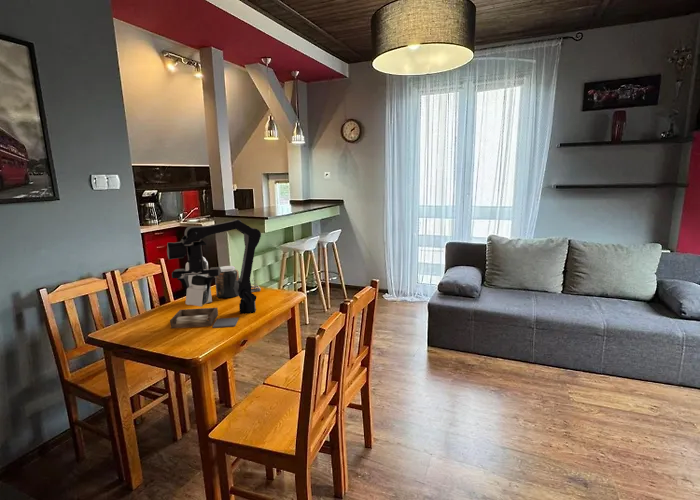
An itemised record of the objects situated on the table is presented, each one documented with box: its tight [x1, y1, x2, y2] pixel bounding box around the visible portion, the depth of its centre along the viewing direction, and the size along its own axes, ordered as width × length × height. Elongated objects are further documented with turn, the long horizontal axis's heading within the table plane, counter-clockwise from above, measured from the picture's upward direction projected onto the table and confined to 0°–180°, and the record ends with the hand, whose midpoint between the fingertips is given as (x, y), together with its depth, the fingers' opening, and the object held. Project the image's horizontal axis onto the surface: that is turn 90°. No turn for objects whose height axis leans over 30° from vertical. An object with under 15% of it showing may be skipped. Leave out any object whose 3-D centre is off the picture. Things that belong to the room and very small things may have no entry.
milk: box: [185, 256, 213, 306], centre depth 188 cm, size 12×12×26 cm
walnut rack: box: [169, 307, 219, 329], centre depth 160 cm, size 16×13×4 cm
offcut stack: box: [176, 315, 209, 324], centre depth 156 cm, size 12×2×4 cm, turn 101°
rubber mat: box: [212, 317, 239, 329], centre depth 158 cm, size 9×9×1 cm
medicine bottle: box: [185, 275, 209, 308], centre depth 159 cm, size 7×7×12 cm
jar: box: [214, 265, 240, 299], centre depth 198 cm, size 12×12×15 cm
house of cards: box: [251, 277, 262, 293], centre depth 207 cm, size 9×9×8 cm
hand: (198, 292), depth 159 cm, fingers closed on medicine bottle, 7 cm apart
